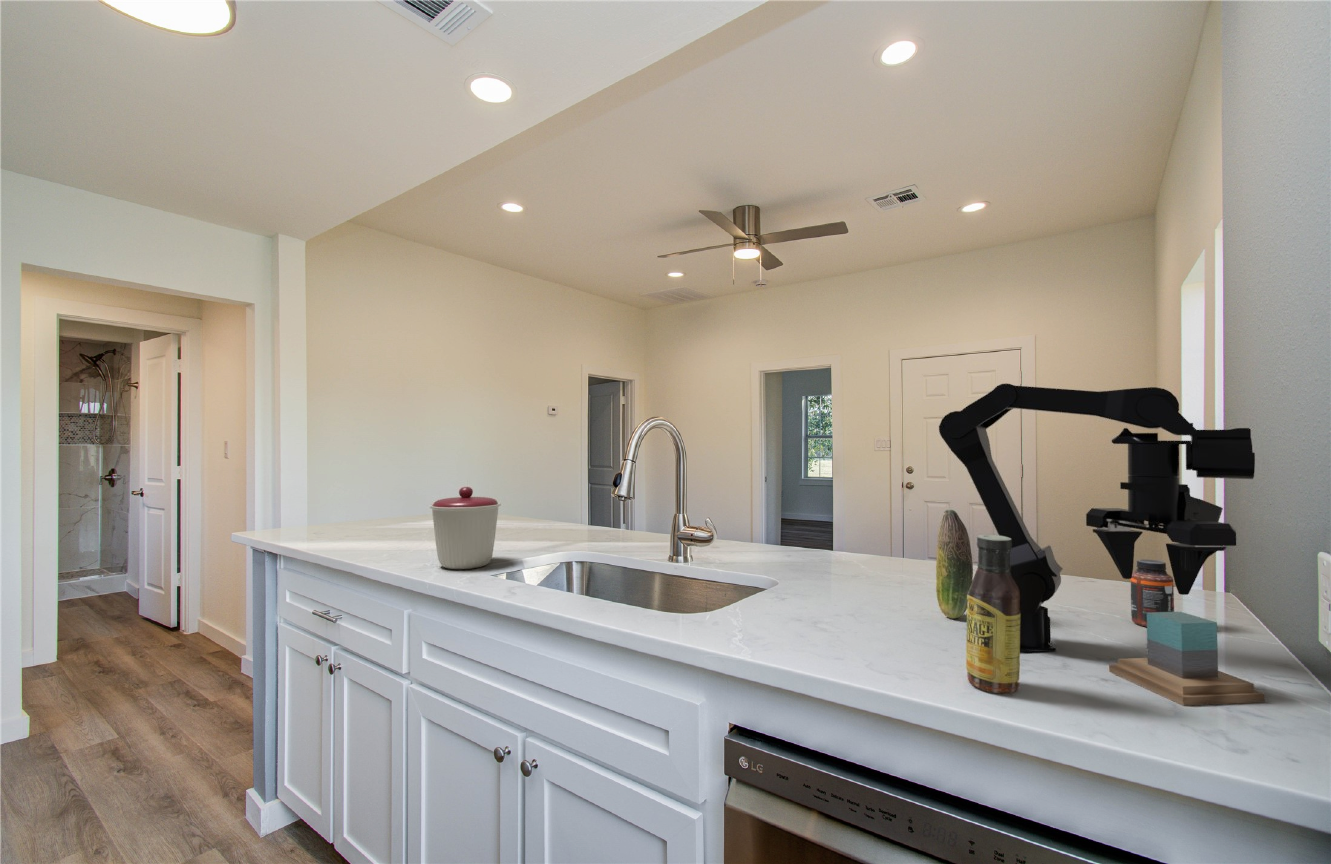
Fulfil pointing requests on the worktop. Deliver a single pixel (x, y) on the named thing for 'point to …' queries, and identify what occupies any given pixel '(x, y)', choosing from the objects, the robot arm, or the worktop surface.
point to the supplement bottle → (1150, 590)
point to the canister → (465, 530)
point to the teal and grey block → (1182, 644)
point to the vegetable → (953, 565)
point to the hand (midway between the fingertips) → (1153, 586)
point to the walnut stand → (1187, 684)
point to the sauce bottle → (993, 619)
